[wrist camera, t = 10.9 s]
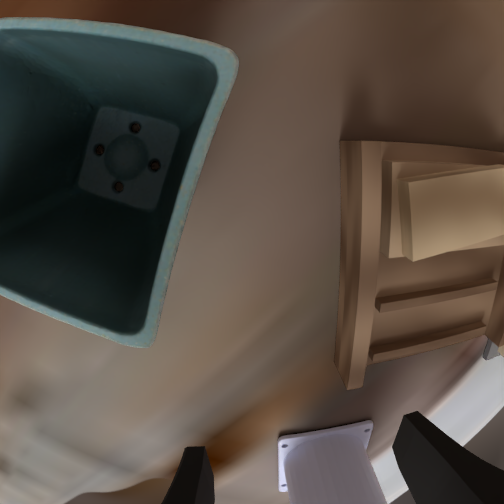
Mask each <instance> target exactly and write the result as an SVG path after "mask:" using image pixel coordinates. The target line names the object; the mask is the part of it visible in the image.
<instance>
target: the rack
mask: <svg viewBox="0 0 504 504" xmlns="http://www.w3.org/2000/svg"><path fill="white" fill-rule="evenodd" d="M382 160H396V161H426V162H445V163H460V164H474V165H485V166H489V165H497V164H501V165H504V153H503V152H496V151H489V150H482V149H473V148H465V147H455V146H445V145H433V144H420V143H404V142H383V141H340V170H341V253H340V282H339V302H338V319H337V333H336V346H335V357H334V362H335V365H336V367H337V369H338V371H339V373H340V375H341V378H342V380H343V382H344V384H345V386H346V388H347V390H351V389H356V388H361V387H363V382H364V376H365V370H366V365H371V364H376V363H380V362H385V361H390V360H394V359H399V358H403V357H407V356H411V355H415V354H419V353H423V352H427V351H431V350H435V349H439V348H442V347H446V346H449V345H453V344H456V343H460V342H463V341H466V340H470V339H473V338H476V337H479V336H482V335H486V336H487V337H488V338H489V339H490V340H491V341H492V342H493V343H494V344H496V345H497V346H498V347H501V346H503V345H504V245H499V246H491V247H483V248H475V249H467V250H458V251H450V252H445V253H442V254H438V255H435V256H431V257H428V258H424V259H421V260H417V261H414V262H413V261H411V260H410V259H408V258H407V257H406V256H405V257H396V258H388V257H386V256H385V255H384V254H383V253H381V252H380V251H379V249H380V230H381V197H382Z"/></svg>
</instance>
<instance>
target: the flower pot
mask: <svg viewBox="0 0 504 504" xmlns="http://www.w3.org/2000/svg"><path fill="white" fill-rule="evenodd" d="M238 68H239V59H238V57H237V55H236V54H235V53H234V52H233V51H232V50H231V49H230V48H227V47H225V46H222V45H220V44H217V43H213V42H210V41H207V40H202V39H196V38H192V37H189V36H185V35H180V34H174V33H169V32H165V31H160V30H154V29H148V28H143V27H137V26H130V25H124V24H117V23H106V22H99V21H90V20H79V19H61V18H35V17H32V18H30V17H23V18H22V17H11V18H8V17H6V18H0V295H2V296H4V297H6V298H8V299H10V300H12V301H15V302H17V303H20V304H21V305H23V306H26V307H28V308H30V309H33V310H35V311H38V312H40V313H42V314H45V315H47V316H50V317H52V318H54V319H57V320H60V321H62V322H65V323H67V324H70V325H73V326H75V327H77V328H80V329H83V330H86V331H88V332H90V333H93V334H96V335H99V336H102V337H104V338H106V339H109V340H112V341H114V342H117V343H119V344H122V345H126V346H131V347H136V348H148V347H150V346H151V345H152V344H153V342H154V340H155V338H156V334H157V331H158V327H159V321H160V316H161V311H162V307H163V303H164V299H165V295H166V291H167V287H168V282H169V279H170V274H171V270H172V267H173V263H174V260H175V256H176V252H177V249H178V245H179V241H180V238H181V234H182V231H183V228H184V224H185V221H186V218H187V214H188V211H189V207H190V204H191V201H192V198H193V195H194V192H195V188H196V185H197V182H198V179H199V176H200V173H201V170H202V167H203V164H204V161H205V158H206V155H207V152H208V149H209V146H210V144H211V141H212V138H213V136H214V133H215V130H216V127H217V124H218V121H219V119H220V117H221V114H222V111H223V109H224V107H225V104H226V102H227V100H228V98H229V95H230V92H231V90H232V87H233V84H234V82H235V79H236V76H237V73H238ZM135 123H137V124H139V125H140V130H139V131H138V132H137V133H134V132H132V131H131V126H132V125H133V124H135ZM99 145H102V146H103V147H104V153H103V154H102V155H98V154H96V147H97V146H99ZM153 161H158V162H159V164H160V167H159V169H158V170H156V171H154V170H152V169H151V167H150V165H151V163H152V162H153ZM117 182H121V183H122V184H123V190H122V191H120V192H118V191H116V190H115V188H114V185H115V184H116V183H117Z"/></svg>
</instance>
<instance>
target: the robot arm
mask: <svg viewBox="0 0 504 504" xmlns="http://www.w3.org/2000/svg"><path fill="white" fill-rule="evenodd" d="M372 429H373V422H372V421H371V420H367V421H363V422H359V423H354V424H349V425H345V426H340V427H335V428H329V429H324V430H318V431H312V432H306V433H300V434H293V435H285V436H281V437H279V438H278V488H279V491H281V492H286V491H288V494H289V500H290V504H387V501H386V499H385V496H384V494H383V492H382V489H381V487H380V484H379V482H378V479H377V477H376V474H375V472H374V469H373V467H372V465H371V462H370V460H369V457H368V455H367V452H366V449H367V446H368V442H369V439H370V436H371V432H372ZM392 448H393V451H394V454H395V458H396V461H397V464H398V467H399V469H400V471H401V473H402V476H403V478H404V480H405V482H406V484H407V486H408V488H409V490H410V492H411V494H412V496H413V498H414V500H415V502H416V504H504V471H503V470H501V469H499V468H497V467H495V466H493V465H491V464H489V463H487V462H486V461H484V460H482V459H480V458H479V457H477V456H476V455H474V454H473V453H471V452H469V451H468V450H466V449H465V448H464V447H462V446H461V445H460V444H458V443H457V442H456V441H454V440H453V439H452V438H450V437H449V436H448V435H446V434H445V433H444V432H443V431H441V430H440V429H439V428H438V427H436V426H435V425H434V424H433V423H432V422H430V421H429V420H428V419H427V418H426V417H424V416H423V415H422V414H421V413H419V412H418V411H416V412H413V413H409V414H406V415H404V416H403V419H402V422H401V425H400V427H399V430H398V433H397V436H396V438H395V441H394V443H393V446H392ZM214 502H215V495H214V475H213V472H212V469H211V466H210V462H209V459H208V456H207V452H206V449H205V446H201V447H186V448H185V450H184V453H183V456H182V459H181V462H180V465H179V467H178V470H177V472H176V475H175V477H174V479H173V481H172V484H171V486H170V488H169V490H168V492H167V494H166V496H165V498H164V500H163V502H162V503H161V504H214Z"/></svg>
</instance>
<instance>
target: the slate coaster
mask: <svg viewBox="0 0 504 504" xmlns="http://www.w3.org/2000/svg"><path fill="white" fill-rule="evenodd" d="M498 348H499V347H498V346H497V345H496V344H494V343H493V342H492V341H491V340H490V339H488V343H487V346H486V349H485V352H484V354H483V358H484V359H485V360H489V359H491V358H494V357H496V356H499V355H501V354H500V353H499V352H498Z"/></svg>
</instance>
